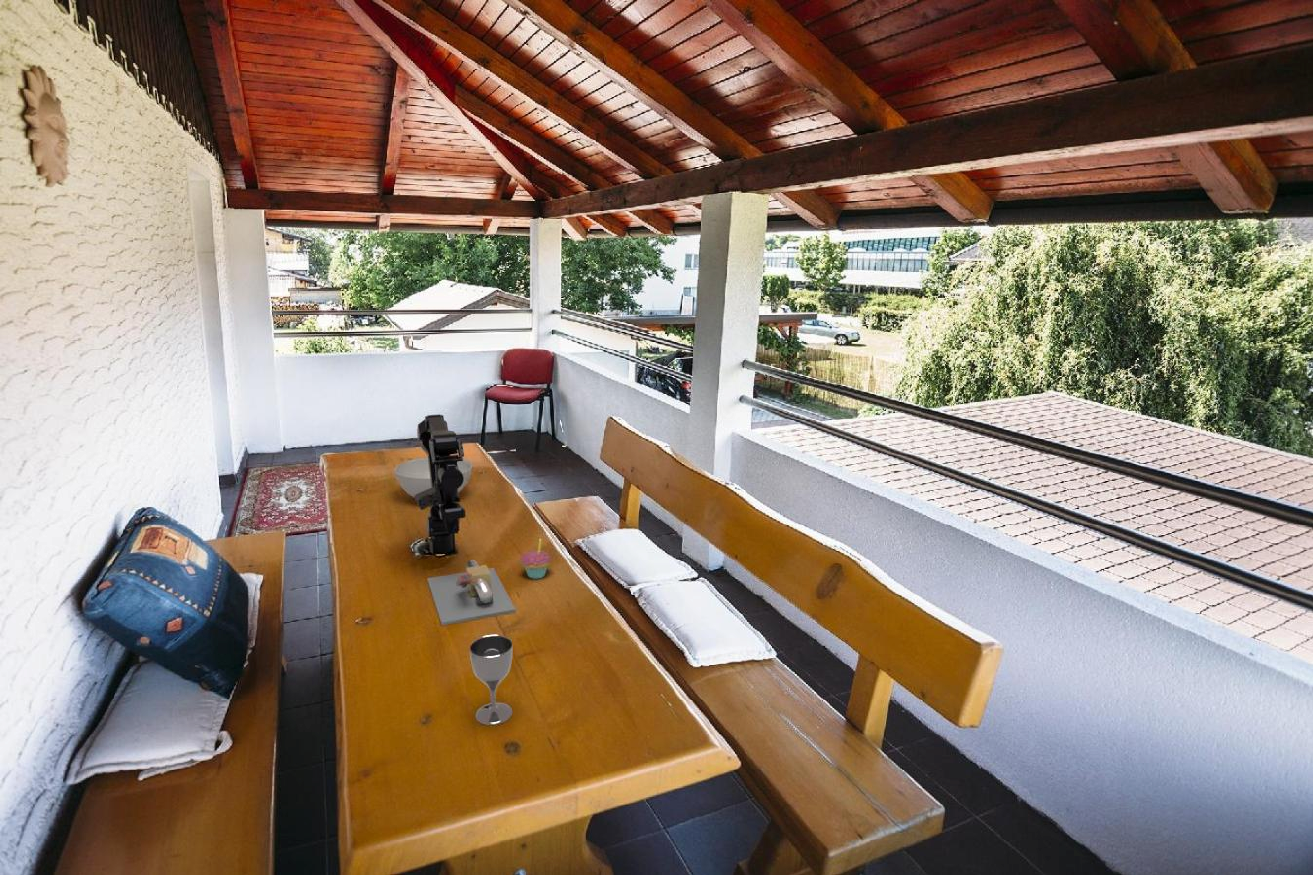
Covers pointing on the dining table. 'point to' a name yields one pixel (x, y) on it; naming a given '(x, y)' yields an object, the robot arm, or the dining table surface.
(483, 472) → the dining table surface
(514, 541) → the dining table surface
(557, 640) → the dining table surface
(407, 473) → the decorative bowl
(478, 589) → the ball valve
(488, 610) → the mounting board
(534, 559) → the cupcake
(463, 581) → the valve lever
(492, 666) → the wine glass
